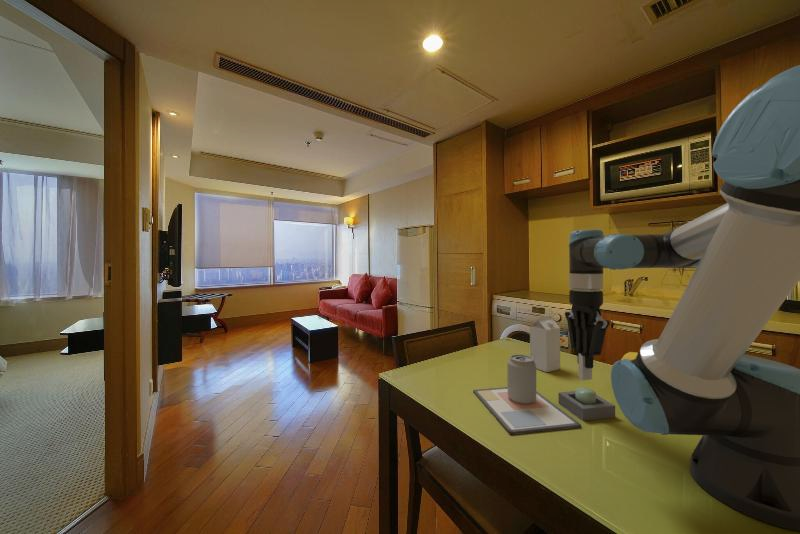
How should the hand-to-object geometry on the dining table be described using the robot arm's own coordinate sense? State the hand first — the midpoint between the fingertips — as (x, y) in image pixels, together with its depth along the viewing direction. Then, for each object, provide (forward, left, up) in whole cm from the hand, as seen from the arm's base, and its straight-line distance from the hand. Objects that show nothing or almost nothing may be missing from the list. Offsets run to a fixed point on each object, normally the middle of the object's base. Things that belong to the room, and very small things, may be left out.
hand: (585, 378), depth 78 cm
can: (+7, +14, -8) cm, 17 cm away
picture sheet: (+4, +16, -8) cm, 18 cm away
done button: (0, 0, -7) cm, 7 cm away
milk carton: (+29, -8, -9) cm, 31 cm away
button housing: (0, 0, -8) cm, 8 cm away
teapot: (+4, -22, -9) cm, 24 cm away
